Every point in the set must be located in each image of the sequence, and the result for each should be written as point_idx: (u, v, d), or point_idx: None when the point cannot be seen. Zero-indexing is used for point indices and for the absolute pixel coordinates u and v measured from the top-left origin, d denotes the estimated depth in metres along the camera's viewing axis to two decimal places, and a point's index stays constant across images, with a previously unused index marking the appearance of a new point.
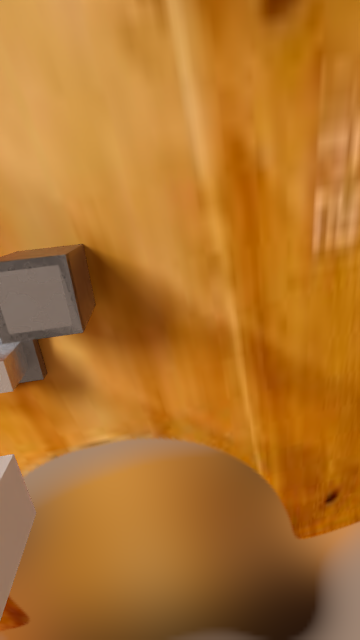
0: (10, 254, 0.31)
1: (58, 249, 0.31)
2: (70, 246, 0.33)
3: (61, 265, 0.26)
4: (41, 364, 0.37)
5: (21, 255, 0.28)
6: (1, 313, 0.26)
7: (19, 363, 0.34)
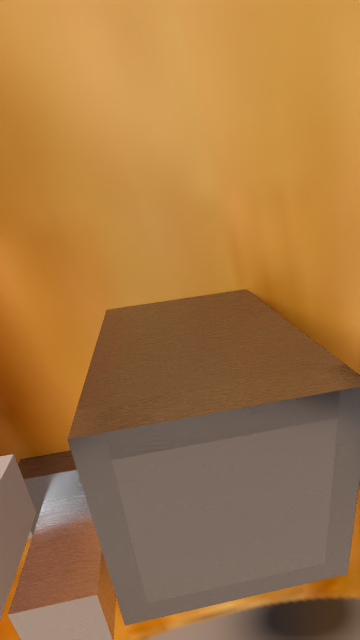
0: (109, 330, 0.12)
1: (229, 317, 0.12)
2: (234, 300, 0.14)
3: (348, 418, 0.08)
4: None
5: (161, 350, 0.10)
6: (133, 560, 0.08)
7: None
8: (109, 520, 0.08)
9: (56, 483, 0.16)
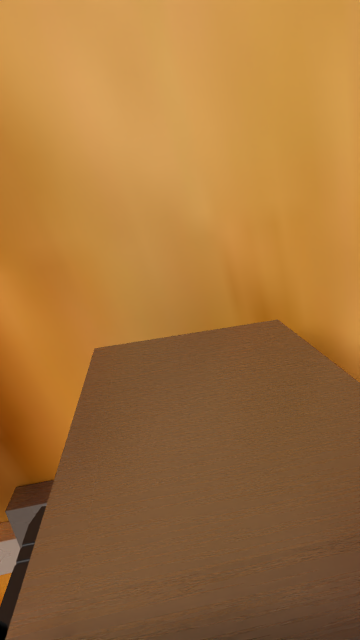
0: (95, 388, 0.09)
1: (266, 370, 0.09)
2: (266, 338, 0.11)
3: None
4: None
5: (171, 436, 0.07)
6: None
7: None
8: None
9: None
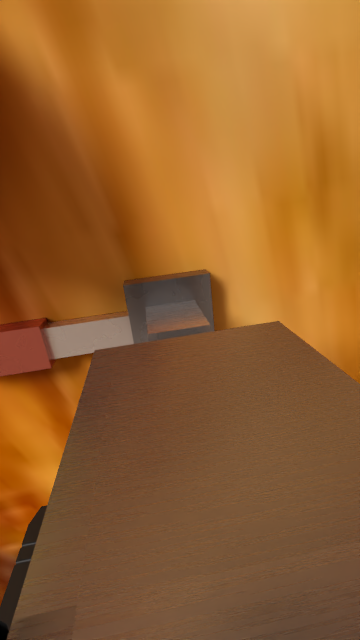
0: (95, 390, 0.09)
1: (267, 372, 0.09)
2: (266, 340, 0.10)
3: None
4: None
5: (172, 440, 0.06)
6: None
7: None
8: None
9: (156, 290, 0.21)
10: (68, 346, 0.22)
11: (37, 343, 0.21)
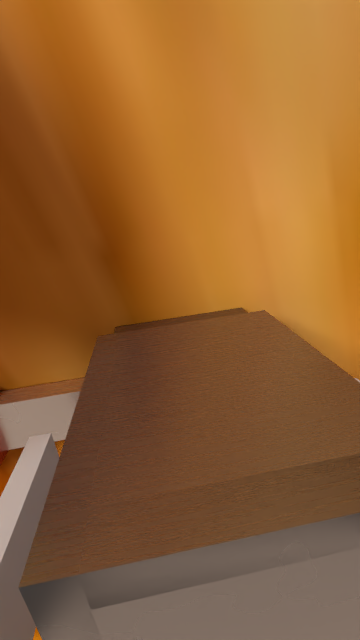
0: (99, 367, 0.10)
1: (250, 350, 0.10)
2: (252, 325, 0.12)
3: None
4: None
5: (165, 402, 0.08)
6: None
7: None
8: None
9: None
10: (27, 431, 0.14)
11: None
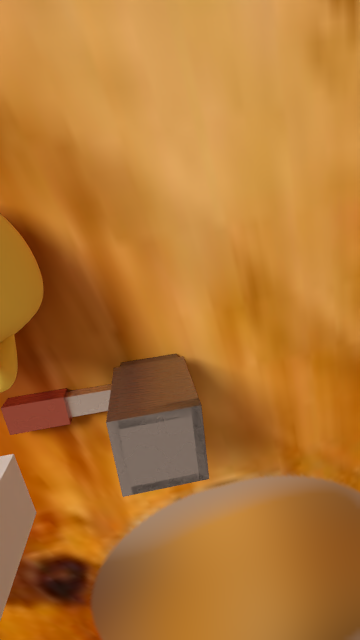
0: (116, 380, 0.28)
1: (168, 374, 0.28)
2: (174, 364, 0.30)
3: (195, 416, 0.23)
4: None
5: (137, 391, 0.26)
6: (126, 467, 0.24)
7: None
8: (118, 450, 0.23)
9: None
10: (82, 408, 0.32)
11: (61, 408, 0.31)
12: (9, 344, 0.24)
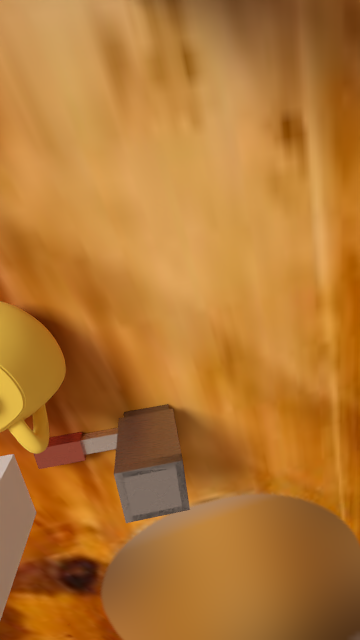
0: (120, 432, 0.37)
1: (160, 428, 0.37)
2: (165, 417, 0.39)
3: (178, 467, 0.32)
4: None
5: (136, 444, 0.35)
6: (128, 503, 0.33)
7: None
8: (122, 492, 0.32)
9: None
10: (94, 447, 0.41)
11: (78, 448, 0.40)
12: (42, 413, 0.33)
